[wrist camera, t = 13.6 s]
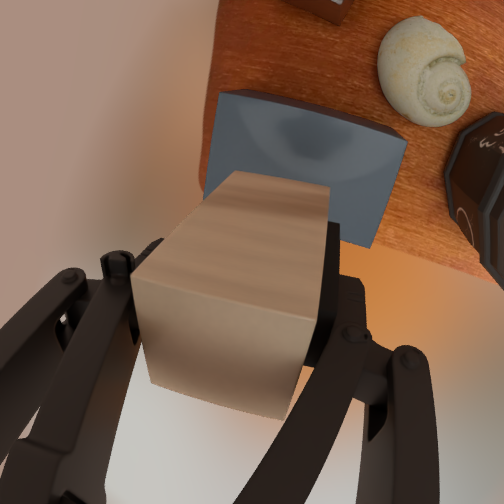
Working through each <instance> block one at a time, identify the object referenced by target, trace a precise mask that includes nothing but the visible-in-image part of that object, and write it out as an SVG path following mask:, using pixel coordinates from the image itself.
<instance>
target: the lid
mask: <svg viewBox="0 0 504 504" xmlns="http://www.w3.org/2000/svg"><path fill="white" fill-rule="evenodd" d="M407 143H408V141H406V140H404V139H401V138H399V137H396V136H393V135H390V134H387V133H385V132H382V131H379V130H376V129H373V128H370V127H367V126H364V125H360V124H357V123H354V122H351V121H347V120H344V119H341V118H337V117H334V116H330V115H326V114H323V113H319V112H315V111H311V110H307V109H304V108H299V107H295V106H291V105H287V104H282V103H278V102H273V101H269V100H264V99H259V98H254V97H249V96H243V95H238V94H232V93H226V92H219V98H218V103H217V109H216V115H215V121H214V128H213V134H212V140H211V147H210V153H209V160H208V167H207V174H206V181H205V188H204V196H203V200H204V199H205V198H206V197H208V196H209V195H210V194H211V193H212V192H213V191H214V190H215V189H216V188H217V187H218V186H219V185H220V184H221V183H222V182H223V181H224V180H225V179H226V178H228V177H229V176H230V175H231V174H232V173H233V172H234V171H243V172H249V173H255V174H262V175H268V176H273V177H279V178H285V179H290V180H296V181H301V182H307V183H312V184H317V185H322V186H327V187H330V197H329V211H328V221H331V222H336V223H340V240H342V241H346V242H349V243H352V244H355V245H359V246H362V247H365V248H369V249H370V247H371V245H372V242H373V240H374V237H375V235H376V232H377V230H378V227H379V224H380V222H381V219H382V216H383V214H384V211H385V208H386V206H387V203H388V200H389V197H390V194H391V192H392V189H393V186H394V183H395V180H396V177H397V174H398V171H399V168H400V165H401V162H402V159H403V156H404V152H405V149H406V146H407Z"/></svg>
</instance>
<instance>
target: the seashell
mask: <svg viewBox="0 0 504 504" xmlns="http://www.w3.org/2000/svg"><path fill="white" fill-rule="evenodd" d="M465 59H466V58H465V56H464V52H463V48H462V46H461V45H460V44H459V42H458V41H457V39H456V38H455V37H454V36H453V35H452V34H450V33H448V32H447V31H446V30H445V29H443V28H442V26H441V25H440V24H437V23H435V22H431V21H429V20H427V19H424V18H423V16H414V17H410V18H407V19H405V20H403V21H401V22H399V23H398V24H396V25H395V26H393V27H392V28H391V29H390V30H389V31H388V32H387V34H386V35H385V37H384V38H383V40H382V43H381V45H380V48H379V52H378V60H377V69H378V76H379V81H380V85H381V88H382V91H383V93H384V95H385V97H386V99H387V100H388V102H389V103H390V105H391V106H392V107H393V108H394V109H395V110H396V111H397V112H398V113H399V114H401V115H402V116H403V117H405V118H406V119H408V120H409V121H411V122H413V123H416V124H418V125H421V126H426V127H441V126H445V125H448V124H450V123H452V122H454V121H456V120H457V119H458V118H460V117H461V116H462V115H463V114H464V112H465V111H466V109H467V108H468V106H469V103H470V100H471V87H470V83H469V80H468V77H467V75H466V73H465V72H464V71H463V69H462V68H461V67H460V65H462V64H464V63H466V60H465Z"/></svg>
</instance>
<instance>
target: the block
mask: <svg viewBox="0 0 504 504" xmlns="http://www.w3.org/2000/svg"><path fill="white" fill-rule="evenodd" d="M329 197H330V187H327V186H322V185H317V184H312V183H307V182H301V181H296V180H290V179H285V178H279V177H273V176H268V175H262V174H255V173H249V172H243V171H234V172H233V173H232V174H231V175H230V176H229V177H228V178H226V179H225V180H224V181H223V182H222V183H221V184H220V185H219V186H218V187H217V188H216V189H215V190H214V191H213V192H212V193H211V194H210V195H209V196H208V197H206V198H205V199H204V200H203V201H202V202H201V203H200V204H199V205H198V206H197V207H196V208H195V209H194V210H193V211H192V212H191V213H190V214H189V215H188V216H187V217H186V218H185V219H184V220H183V221H182V222H181V223H180V224H179V225H178V226H177V227H176V228H175V229H174V230H173V231H172V232H171V233H170V234H169V235H168V236H167V237H166V238H165V239H164V240H163V241H162V242H161V243H160V244H159V245H158V246H157V247H156V248H155V249H154V251H153V252H152V253H151V254H150V255H149V256H148V257H147V258H146V259H145V260H144V261H143V262H142V263H141V264H140V265H139V266H138V267H137V268H136V269H135V271H134V272H133V273H132V274H131V276H130V278H131V285H132V291H133V297H134V303H135V309H136V314H137V320H138V325H139V330H140V335H141V340H142V345H143V350H144V354H145V359H146V363H147V367H148V372H149V376H150V380H151V383H152V384H155V385H158V386H160V387H164V388H166V389H169V390H172V391H175V392H178V393H181V394H184V395H187V396H190V397H194V398H197V399H200V400H203V401H207V402H210V403H214V404H217V405H220V406H224V407H227V408H231V409H235V410H239V411H243V412H246V413H250V414H255V415H259V416H263V417H267V418H272V419H277V420H281V421H283V420H284V419H285V416H286V413H287V411H288V408H289V405H290V402H291V399H292V396H293V394H294V391H295V388H296V385H297V382H298V379H299V376H300V373H301V370H302V366H303V364H304V361H305V357H306V354H307V351H308V348H309V345H310V342H311V338H312V335H313V332H314V329H315V325H316V322H317V316H318V308H319V300H320V292H321V283H322V274H323V265H324V256H325V245H326V235H327V223H328V211H329Z"/></svg>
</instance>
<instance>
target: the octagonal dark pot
mask: <svg viewBox="0 0 504 504" xmlns="http://www.w3.org/2000/svg"><path fill="white" fill-rule="evenodd" d="M443 173H444V179H445V185H446V192H447V199H448V207H449V215H450V217H451V218H452V219H453V220H454V221H455V222H456V224H457V225H458V226H459V227H460V229H461V231H462V232H463V234H464V235H465V237H466V238H467V240H468V241H469V243H470V244H471V245H472V246H473V247H474V248H475V249H476V250H477V252H478V253H479V254H480V263H481V264H482V266H483V267H484V268H485V269H486V270H487V271H488V272H489V274H490V275H491V276H492V277H493V278H494V280H495V281H496V282H497V283H498V284H499V286H500V287H501V288H502V289H503V290H504V114H503V113H499V112H495V111H493V112H491V113H490V114H488V115H486V116H485V117H483V118H481V119H480V120H478V121H477V122H475V123H473V124H472V125H470V126H468V127H467V128H465V129H464V130H462V131H460V132H459V135H458V137H457V140H456V142H455V145H454V147H453V150H452V152H451V155H450V157H449V160H448V162H447V164H446V167H445V169H444V172H443Z"/></svg>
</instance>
